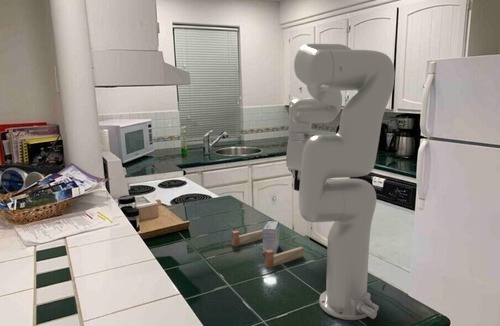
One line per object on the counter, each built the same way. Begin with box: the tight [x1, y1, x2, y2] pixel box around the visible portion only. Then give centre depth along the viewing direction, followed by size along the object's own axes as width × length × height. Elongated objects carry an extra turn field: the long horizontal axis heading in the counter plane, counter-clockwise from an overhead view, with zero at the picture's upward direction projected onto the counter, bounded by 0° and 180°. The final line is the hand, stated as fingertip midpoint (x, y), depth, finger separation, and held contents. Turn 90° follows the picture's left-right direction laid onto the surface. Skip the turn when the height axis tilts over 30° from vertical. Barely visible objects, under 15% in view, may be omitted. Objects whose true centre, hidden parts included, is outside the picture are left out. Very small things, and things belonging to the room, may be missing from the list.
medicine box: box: [262, 220, 280, 255], centre depth 122 cm, size 8×4×9 cm, turn 168°
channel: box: [231, 229, 304, 270], centre depth 121 cm, size 21×14×5 cm, turn 34°
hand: (299, 189), depth 126 cm, fingers closed
